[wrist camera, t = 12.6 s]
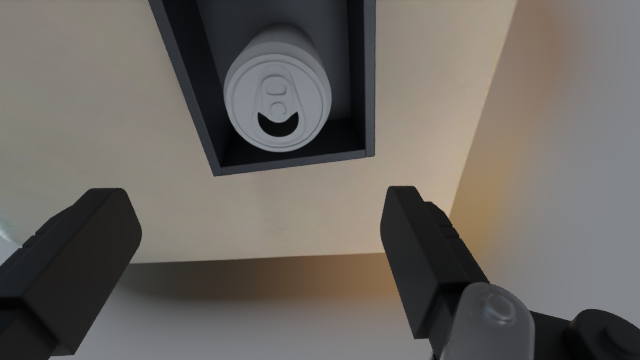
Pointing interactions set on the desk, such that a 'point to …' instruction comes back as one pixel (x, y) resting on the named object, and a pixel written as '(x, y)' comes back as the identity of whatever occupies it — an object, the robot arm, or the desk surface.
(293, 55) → the beverage can
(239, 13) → the bin
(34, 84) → the desk surface
